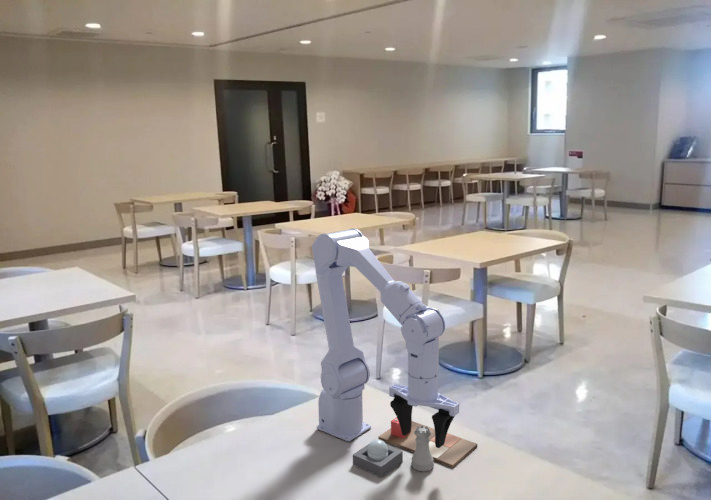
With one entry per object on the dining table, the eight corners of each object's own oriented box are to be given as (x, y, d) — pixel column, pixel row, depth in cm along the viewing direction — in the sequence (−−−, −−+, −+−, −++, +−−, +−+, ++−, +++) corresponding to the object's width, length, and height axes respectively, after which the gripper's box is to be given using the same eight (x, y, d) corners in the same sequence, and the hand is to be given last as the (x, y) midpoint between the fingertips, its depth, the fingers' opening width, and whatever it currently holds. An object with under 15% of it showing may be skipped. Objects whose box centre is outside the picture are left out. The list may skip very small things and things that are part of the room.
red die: (390, 433, 126) (390, 419, 125) (399, 428, 128) (399, 414, 127) (402, 438, 124) (402, 423, 123) (410, 432, 126) (410, 418, 126)
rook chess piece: (433, 473, 112) (433, 435, 110) (409, 471, 113) (409, 432, 111) (434, 460, 116) (435, 423, 115) (412, 458, 117) (412, 421, 116)
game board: (378, 439, 125) (378, 436, 125) (405, 421, 132) (405, 418, 132) (452, 467, 114) (452, 464, 114) (477, 446, 121) (477, 443, 121)
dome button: (363, 462, 115) (363, 441, 115) (375, 453, 118) (375, 433, 118) (379, 469, 113) (379, 448, 112) (392, 460, 116) (391, 439, 115)
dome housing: (352, 464, 115) (352, 454, 115) (374, 449, 121) (374, 440, 120) (381, 477, 111) (381, 466, 111) (402, 461, 116) (402, 451, 116)
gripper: (379, 370, 112) (380, 436, 115) (445, 390, 103) (445, 460, 106) (400, 359, 118) (401, 422, 120) (465, 377, 109) (464, 444, 111)
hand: (422, 439), depth 113 cm, fingers open, 7 cm apart
